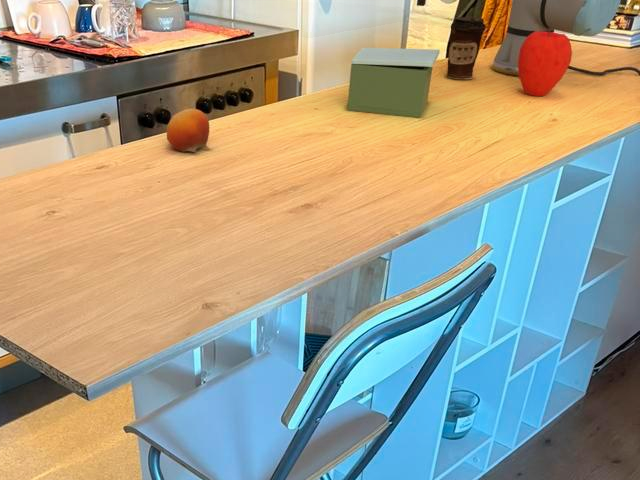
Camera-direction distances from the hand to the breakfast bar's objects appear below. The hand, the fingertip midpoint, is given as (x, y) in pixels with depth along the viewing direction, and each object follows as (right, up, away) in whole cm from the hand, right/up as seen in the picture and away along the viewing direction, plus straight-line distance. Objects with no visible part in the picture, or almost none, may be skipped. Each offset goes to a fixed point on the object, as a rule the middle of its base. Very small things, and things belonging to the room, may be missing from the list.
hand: (421, 4), depth 168 cm
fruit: (-47, -37, -15) cm, 61 cm away
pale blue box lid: (-4, -7, +7) cm, 11 cm away
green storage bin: (-5, -14, +13) cm, 20 cm away
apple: (+33, -5, +26) cm, 42 cm away
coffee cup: (+17, +4, +37) cm, 41 cm away
